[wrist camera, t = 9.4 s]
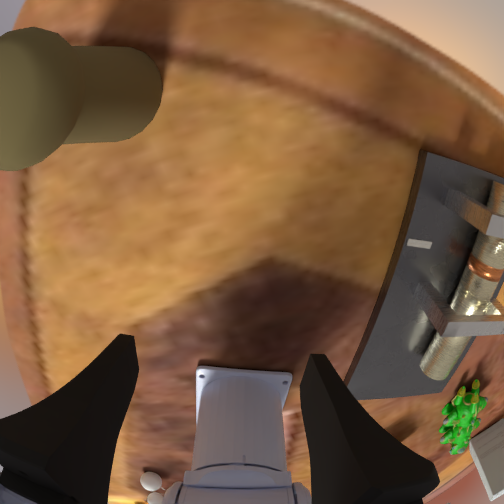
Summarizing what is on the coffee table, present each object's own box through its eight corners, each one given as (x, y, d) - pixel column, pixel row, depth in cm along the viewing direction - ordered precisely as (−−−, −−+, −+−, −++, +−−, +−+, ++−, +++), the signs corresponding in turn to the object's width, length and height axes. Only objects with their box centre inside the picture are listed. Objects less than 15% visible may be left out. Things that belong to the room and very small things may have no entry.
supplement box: (468, 451, 39) (489, 503, 28) (468, 439, 36) (492, 496, 25) (501, 431, 37) (524, 480, 26) (504, 416, 34) (532, 470, 23)
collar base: (437, 385, 28) (457, 425, 23) (338, 392, 27) (350, 443, 22) (527, 187, 18) (574, 213, 13) (420, 149, 18) (473, 170, 12)
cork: (148, 31, 14) (41, -27, 5) (175, 121, 17) (83, 150, 7) (63, 72, 15) (-70, 76, 5) (89, 156, 18) (-35, 219, 8)
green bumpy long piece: (433, 446, 36) (441, 468, 32) (440, 385, 28) (454, 414, 24) (469, 428, 35) (479, 448, 31) (487, 360, 27) (504, 386, 23)
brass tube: (426, 352, 25) (452, 367, 23) (414, 368, 23) (442, 385, 21) (494, 180, 18) (528, 195, 16) (491, 181, 16) (529, 198, 14)
